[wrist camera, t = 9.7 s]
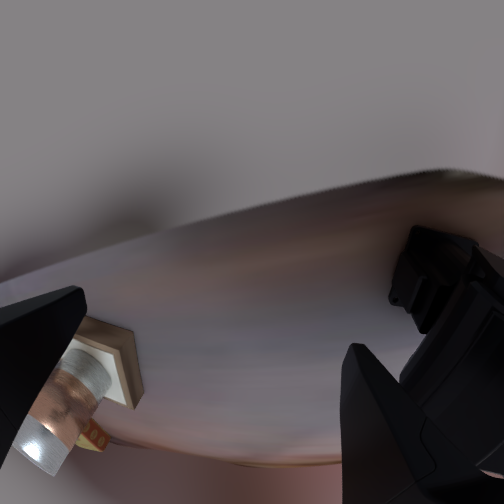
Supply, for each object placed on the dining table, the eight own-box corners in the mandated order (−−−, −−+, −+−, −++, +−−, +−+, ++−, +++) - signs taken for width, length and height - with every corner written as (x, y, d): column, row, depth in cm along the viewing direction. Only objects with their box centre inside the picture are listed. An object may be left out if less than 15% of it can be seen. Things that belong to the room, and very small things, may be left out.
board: (133, 331, 27) (118, 351, 24) (144, 392, 31) (133, 411, 29) (61, 306, 28) (44, 321, 25) (79, 367, 32) (67, 382, 29)
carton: (87, 432, 43) (77, 447, 39) (33, 371, 38) (20, 386, 34) (112, 436, 40) (103, 453, 36) (53, 370, 35) (38, 387, 32)
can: (116, 372, 26) (53, 471, 14) (108, 396, 28) (56, 480, 17) (69, 338, 25) (-4, 424, 14) (66, 366, 28) (8, 442, 16)
